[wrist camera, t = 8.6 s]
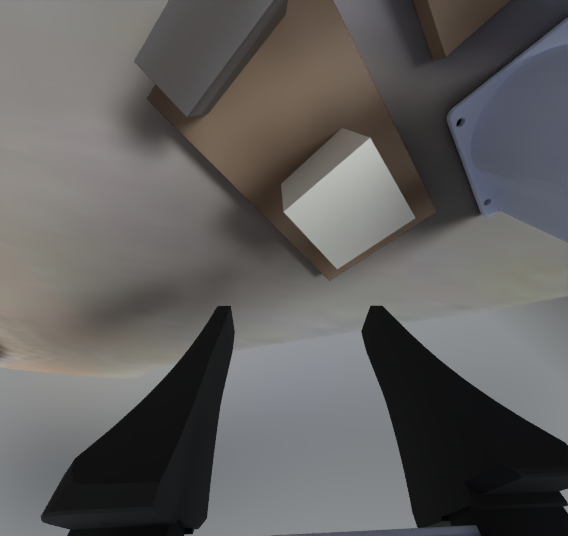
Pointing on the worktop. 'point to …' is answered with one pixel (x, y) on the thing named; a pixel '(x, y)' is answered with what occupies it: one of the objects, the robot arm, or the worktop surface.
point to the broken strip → (452, 21)
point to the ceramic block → (345, 198)
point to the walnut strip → (271, 99)
